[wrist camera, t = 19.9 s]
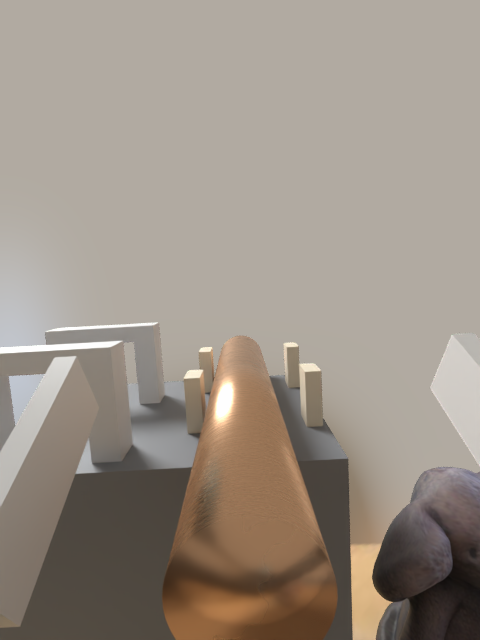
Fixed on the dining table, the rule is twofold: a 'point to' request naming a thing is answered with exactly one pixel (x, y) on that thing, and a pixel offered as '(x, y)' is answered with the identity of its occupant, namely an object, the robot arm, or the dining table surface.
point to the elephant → (433, 561)
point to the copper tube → (247, 522)
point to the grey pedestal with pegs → (154, 483)
